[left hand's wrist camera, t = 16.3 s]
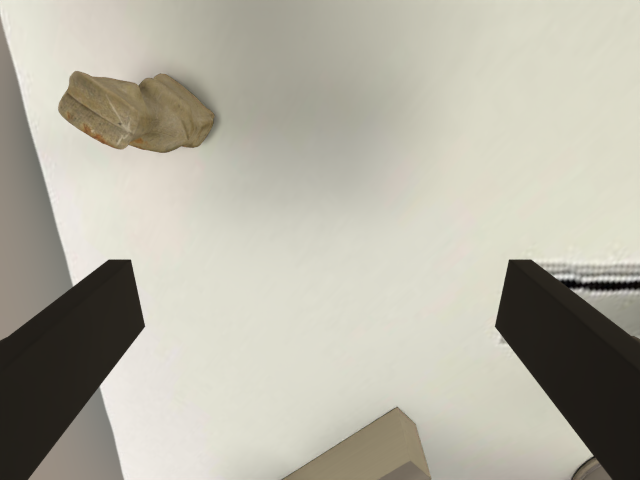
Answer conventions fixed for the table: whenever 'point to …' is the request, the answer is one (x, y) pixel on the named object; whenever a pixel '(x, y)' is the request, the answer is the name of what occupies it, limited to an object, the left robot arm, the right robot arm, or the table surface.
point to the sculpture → (136, 112)
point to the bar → (373, 454)
